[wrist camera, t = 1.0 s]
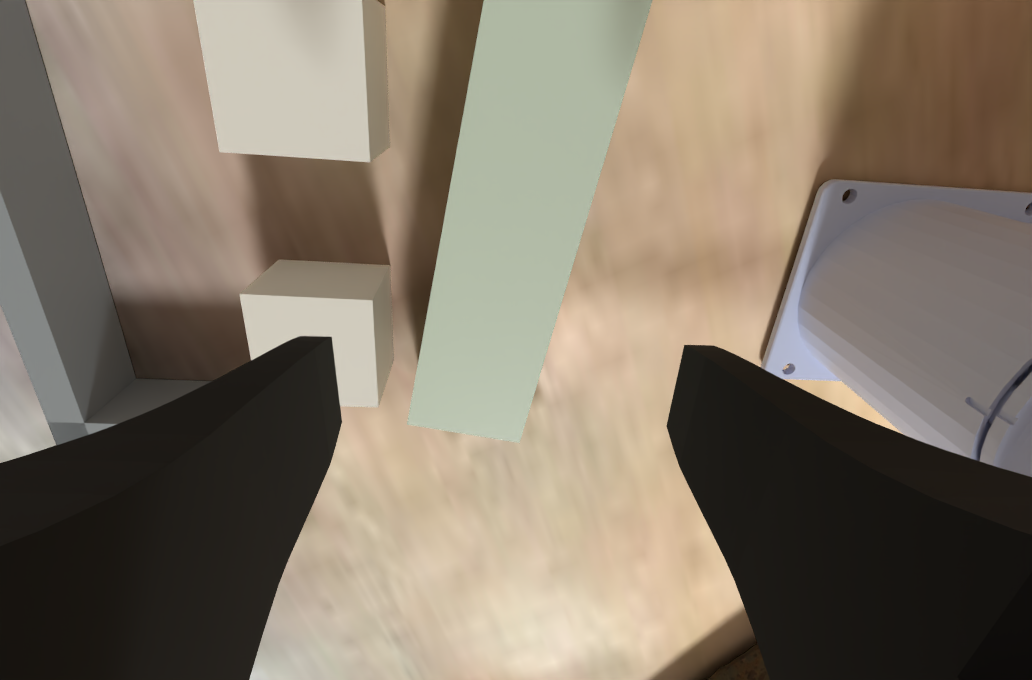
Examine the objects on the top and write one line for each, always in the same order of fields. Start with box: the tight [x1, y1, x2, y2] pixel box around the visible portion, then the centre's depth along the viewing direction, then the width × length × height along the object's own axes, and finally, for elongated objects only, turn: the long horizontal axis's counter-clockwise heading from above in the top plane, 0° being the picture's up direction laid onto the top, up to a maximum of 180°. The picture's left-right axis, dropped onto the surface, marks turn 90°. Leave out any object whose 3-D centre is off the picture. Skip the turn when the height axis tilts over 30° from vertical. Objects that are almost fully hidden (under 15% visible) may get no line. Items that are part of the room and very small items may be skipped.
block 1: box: [193, 0, 390, 162], centre depth 15 cm, size 4×4×4 cm
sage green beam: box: [407, 0, 652, 443], centre depth 17 cm, size 4×14×4 cm, turn 166°
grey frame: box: [0, 0, 212, 445], centre depth 16 cm, size 7×17×3 cm, turn 176°
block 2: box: [239, 259, 394, 407], centre depth 19 cm, size 4×4×4 cm
